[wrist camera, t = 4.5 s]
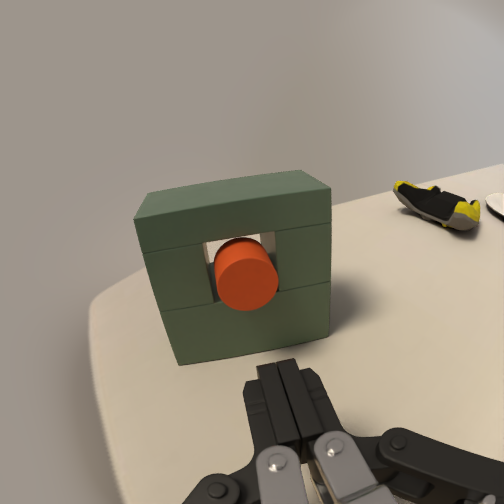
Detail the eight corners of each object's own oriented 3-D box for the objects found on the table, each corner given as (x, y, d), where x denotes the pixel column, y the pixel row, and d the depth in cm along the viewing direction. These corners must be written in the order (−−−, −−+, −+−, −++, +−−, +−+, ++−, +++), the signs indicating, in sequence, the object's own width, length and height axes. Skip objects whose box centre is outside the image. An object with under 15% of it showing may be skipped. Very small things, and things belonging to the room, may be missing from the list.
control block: (328, 336, 24) (331, 187, 18) (178, 365, 22) (132, 218, 17) (305, 296, 29) (301, 169, 24) (179, 319, 28) (147, 193, 22)
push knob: (280, 305, 19) (276, 252, 17) (222, 315, 19) (212, 263, 17) (269, 280, 22) (265, 232, 20) (218, 289, 21) (209, 241, 20)
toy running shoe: (461, 247, 34) (490, 231, 37) (467, 207, 31) (496, 197, 34) (386, 212, 46) (423, 203, 49) (387, 179, 44) (424, 173, 47)
